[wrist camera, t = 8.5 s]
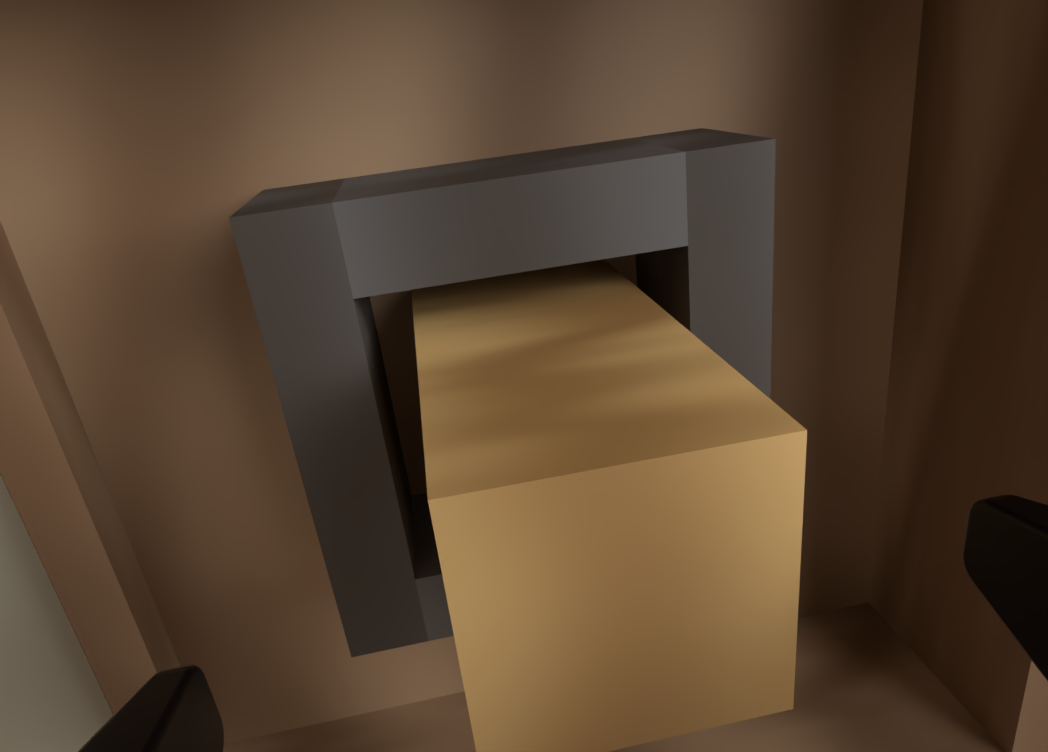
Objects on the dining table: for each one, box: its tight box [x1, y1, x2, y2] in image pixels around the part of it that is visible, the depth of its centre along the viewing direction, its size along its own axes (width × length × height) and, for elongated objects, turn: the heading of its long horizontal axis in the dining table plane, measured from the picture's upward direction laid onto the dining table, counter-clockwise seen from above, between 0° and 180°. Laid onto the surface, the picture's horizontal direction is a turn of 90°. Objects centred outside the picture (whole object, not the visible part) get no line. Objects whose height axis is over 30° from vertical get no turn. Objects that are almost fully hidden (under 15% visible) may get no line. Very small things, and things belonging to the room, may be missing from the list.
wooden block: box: [411, 259, 807, 752], centre depth 12 cm, size 4×4×8 cm
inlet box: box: [0, 0, 1048, 752], centre depth 14 cm, size 20×20×6 cm
